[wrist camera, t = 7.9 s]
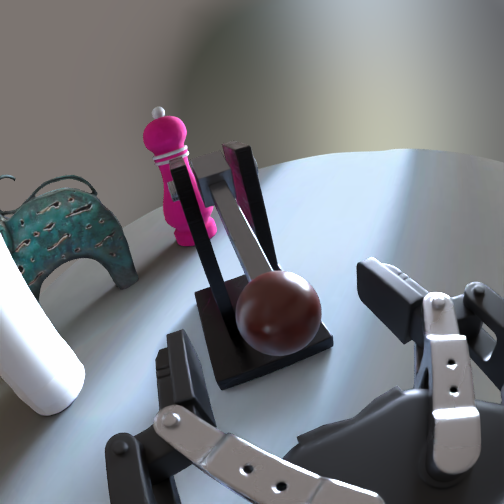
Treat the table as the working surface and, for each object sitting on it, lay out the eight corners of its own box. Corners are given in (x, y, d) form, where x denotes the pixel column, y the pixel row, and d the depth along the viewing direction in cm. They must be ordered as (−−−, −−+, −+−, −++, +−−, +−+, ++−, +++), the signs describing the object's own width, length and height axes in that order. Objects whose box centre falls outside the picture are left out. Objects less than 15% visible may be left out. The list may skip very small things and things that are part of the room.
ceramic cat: (25, 358, 27) (-58, 214, 17) (25, 333, 31) (-43, 206, 22) (148, 281, 36) (89, 128, 27) (133, 266, 41) (82, 135, 31)
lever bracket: (333, 346, 21) (309, 143, 14) (221, 391, 20) (131, 198, 13) (278, 272, 32) (246, 131, 24) (197, 301, 30) (145, 162, 23)
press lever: (331, 348, 13) (342, 309, 10) (257, 379, 12) (246, 349, 10) (236, 181, 22) (228, 139, 19) (190, 196, 21) (177, 154, 19)
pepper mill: (192, 252, 40) (145, 108, 31) (166, 243, 45) (123, 119, 35) (229, 228, 44) (192, 95, 35) (200, 222, 49) (165, 106, 39)
